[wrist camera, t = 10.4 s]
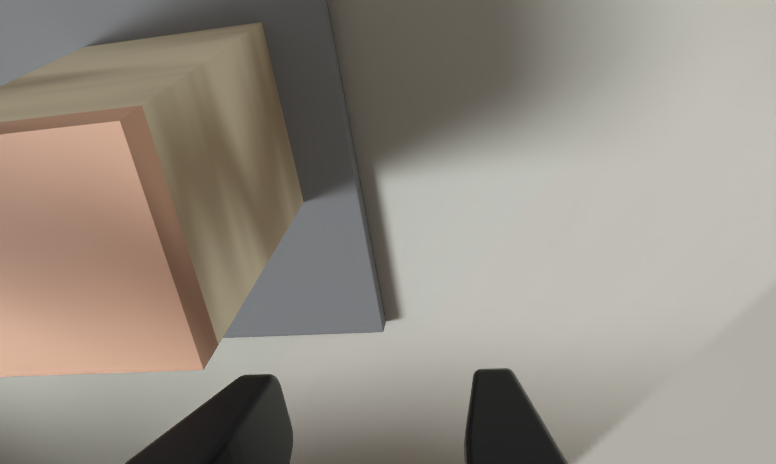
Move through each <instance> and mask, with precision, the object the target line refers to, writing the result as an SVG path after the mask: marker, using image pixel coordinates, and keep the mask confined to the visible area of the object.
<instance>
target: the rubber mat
mask: <svg viewBox="0 0 776 464" xmlns="http://www.w3.org/2000/svg"><path fill="white" fill-rule="evenodd" d="M259 22H262V25H263V30H264V34H265V38H266V43H267V47H268V51H269V56H270V60H271V64H272V68H273V73H274V77H275V81H276V86H277V90H278V94H279V99H280V103H281V107H282V111H283V116H284V120H285V124H286V129H287V133H288V137H289V142H290V146H291V150H292V154H293V159H294V163H295V167H296V172H297V176H298V180H299V185H300V189H301V193H302V197H303V202H304V203H303V204H302V206H301V208H300V209H299V211H298V213H297V214H296V216H295V218H294V219H293V221H292V223H291V224H290V226H289V228H288V229H287V231H286V233H285V234H284V236H283V238H282V239H281V241H280V243H279V244H278V246H277V248H276V249H275V251H274V253H273V254H272V256H271V258H270V259H269V261H268V263H267V264H266V266H265V268H264V269H263V271H262V273H261V274H260V276H259V278H258V279H257V281H256V283H255V284H254V286H253V288H252V289H251V291H250V293H249V294H248V296H247V298H246V299H245V301H244V303H243V305H242V306H241V308H240V310H239V311H238V313H237V315H236V316H235V318H234V320H233V321H232V323H231V325H230V326H229V328H228V330H227V331H226V333H225V335H224V336H223V338H234V337H261V336H288V335H315V334H343V333H370V332H383V331H384V327H385V323H386V322H385V316H384V311H383V305H382V300H381V294H380V289H379V284H378V278H377V273H376V267H375V262H374V256H373V251H372V245H371V240H370V235H369V229H368V224H367V218H366V213H365V207H364V202H363V196H362V191H361V186H360V180H359V175H358V169H357V164H356V158H355V153H354V147H353V142H352V137H351V131H350V126H349V120H348V115H347V109H346V104H345V98H344V93H343V88H342V82H341V77H340V71H339V66H338V60H337V55H336V49H335V44H334V39H333V33H332V28H331V22H330V17H329V11H328V6H327V0H0V86H2V85H4V84H6V83H8V82H10V81H13V80H15V79H17V78H19V77H21V76H23V75H25V74H28V73H30V72H32V71H34V70H36V69H38V68H40V67H43V66H45V65H47V64H49V63H51V62H53V61H55V60H58V59H60V58H62V57H64V56H66V55H68V54H70V53H73V52H75V51H77V50H79V49H81V48H83V47H88V46H95V45H102V44H109V43H116V42H123V41H131V40H138V39H145V38H152V37H159V36H166V35H173V34H181V33H188V32H195V31H202V30H209V29H216V28H223V27H231V26H238V25H245V24H252V23H259Z"/></svg>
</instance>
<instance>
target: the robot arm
mask: <svg viewBox="0 0 776 464" xmlns="http://www.w3.org/2000/svg"><path fill="white" fill-rule="evenodd" d="M292 447H293V431H292V426H291V422H290V418H289V414H288V411H287V407H286V403H285V400H284V396H283V392H282V389H281V385H280V383H279V381H278V379H277V378H276V377H275V376H273V375H271V374H262V375H243V376H240V377H239V378H237V379H236V380H235V381H233V382H232V383H231V384H229V385H228V386H227V387H225V388H224V389H223V390H221V391H220V392H219V393H217V394H216V395H215V396H213V397H212V398H211V399H209V400H208V401H207V402H205V403H204V404H203V405H202V406H200V407H199V408H198V409H196V410H195V411H194V412H192V413H191V414H190V415H188V416H187V417H186V418H184V419H183V420H182V421H180V422H179V423H178V424H176V425H175V426H174V427H172V428H171V429H170V430H168V431H167V432H166V433H164V434H163V435H162V436H161V437H159V438H158V439H157V440H155V441H154V442H153V443H151V444H150V445H149V446H147V447H146V448H145V449H143V450H142V451H141V452H139V453H138V454H137V455H135V456H134V457H133V458H131V459H130V460H129V461H127V462H126V463H125V464H289V463H290V458H291V453H292ZM464 459H465V464H568V463H567V461H566V460H565V458H564V456H563V455H562V453H561V451H560V450H559V448H558V446H557V444H556V443H555V441H554V439H553V438H552V436H551V434H550V433H549V431H548V429H547V428H546V426H545V424H544V423H543V421H542V419H541V418H540V416H539V414H538V413H537V411H536V409H535V408H534V406H533V404H532V402H531V401H530V399H529V397H528V396H527V394H526V392H525V391H524V389H523V387H522V386H521V384H520V382H519V381H518V379H517V377H516V376H515V374H514V373H513V371H512V370H510V369H507V368H499V369H478V370H477V371H476V372H475V373H474V375H473V382H472V389H471V396H470V403H469V410H468V417H467V424H466V431H465V441H464Z"/></svg>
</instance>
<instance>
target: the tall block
mask: <svg viewBox="0 0 776 464" xmlns="http://www.w3.org/2000/svg"><path fill="white" fill-rule="evenodd" d="M303 203H304V202H303V197H302V193H301V189H300V185H299V180H298V176H297V172H296V167H295V163H294V159H293V154H292V150H291V146H290V142H289V137H288V133H287V129H286V124H285V120H284V116H283V111H282V107H281V103H280V99H279V94H278V90H277V86H276V81H275V77H274V73H273V68H272V64H271V60H270V56H269V51H268V47H267V43H266V38H265V34H264V30H263V25H262V22H259V23H252V24H245V25H238V26H231V27H223V28H216V29H209V30H202V31H195V32H188V33H181V34H173V35H166V36H159V37H152V38H145V39H138V40H131V41H123V42H116V43H109V44H102V45H95V46H88V47H83V48H81V49H79V50H77V51H75V52H73V53H70V54H68V55H66V56H64V57H62V58H60V59H58V60H55V61H53V62H51V63H49V64H47V65H45V66H43V67H40V68H38V69H36V70H34V71H32V72H30V73H28V74H25V75H23V76H21V77H19V78H17V79H15V80H13V81H10V82H8V83H6V84H4V85H2V86H0V377H7V376H36V375H65V374H94V373H123V372H152V371H181V370H204V368H205V366H206V365H207V363H208V361H209V360H210V358H211V356H212V355H213V353H214V351H215V350H216V348H217V346H218V345H219V343H220V341H221V340H222V338H223V336H224V335H225V333H226V331H227V330H228V328H229V326H230V325H231V323H232V321H233V320H234V318H235V316H236V315H237V313H238V311H239V310H240V308H241V306H242V305H243V303H244V301H245V299H246V298H247V296H248V294H249V293H250V291H251V289H252V288H253V286H254V284H255V283H256V281H257V279H258V278H259V276H260V274H261V273H262V271H263V269H264V268H265V266H266V264H267V263H268V261H269V259H270V258H271V256H272V254H273V253H274V251H275V249H276V248H277V246H278V244H279V243H280V241H281V239H282V238H283V236H284V234H285V233H286V231H287V229H288V228H289V226H290V224H291V223H292V221H293V219H294V218H295V216H296V214H297V213H298V211H299V209H300V208H301V206H302V204H303Z"/></svg>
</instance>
